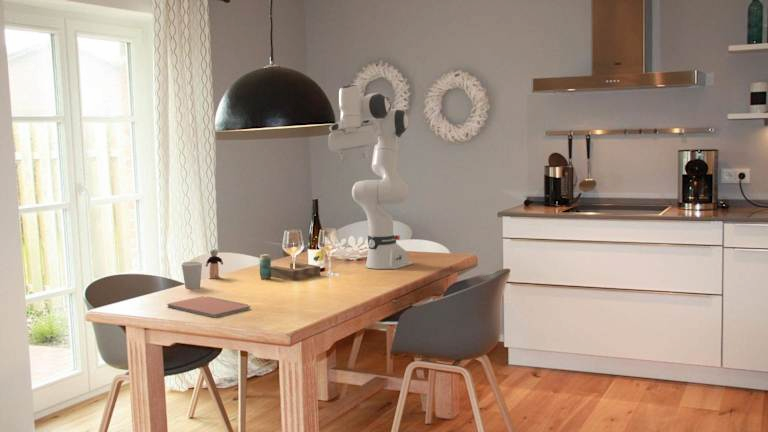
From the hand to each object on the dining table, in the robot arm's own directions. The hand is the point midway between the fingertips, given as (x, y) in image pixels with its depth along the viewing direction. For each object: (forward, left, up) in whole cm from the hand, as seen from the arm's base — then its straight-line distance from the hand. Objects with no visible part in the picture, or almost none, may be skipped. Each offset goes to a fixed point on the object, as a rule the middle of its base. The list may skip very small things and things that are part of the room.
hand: (354, 159), depth 320 cm
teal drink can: (+16, -39, -50) cm, 65 cm away
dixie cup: (+46, -46, -50) cm, 83 cm away
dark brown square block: (+4, -34, -50) cm, 61 cm away
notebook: (+63, -10, -51) cm, 81 cm away
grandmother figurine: (+28, -57, -50) cm, 81 cm away
